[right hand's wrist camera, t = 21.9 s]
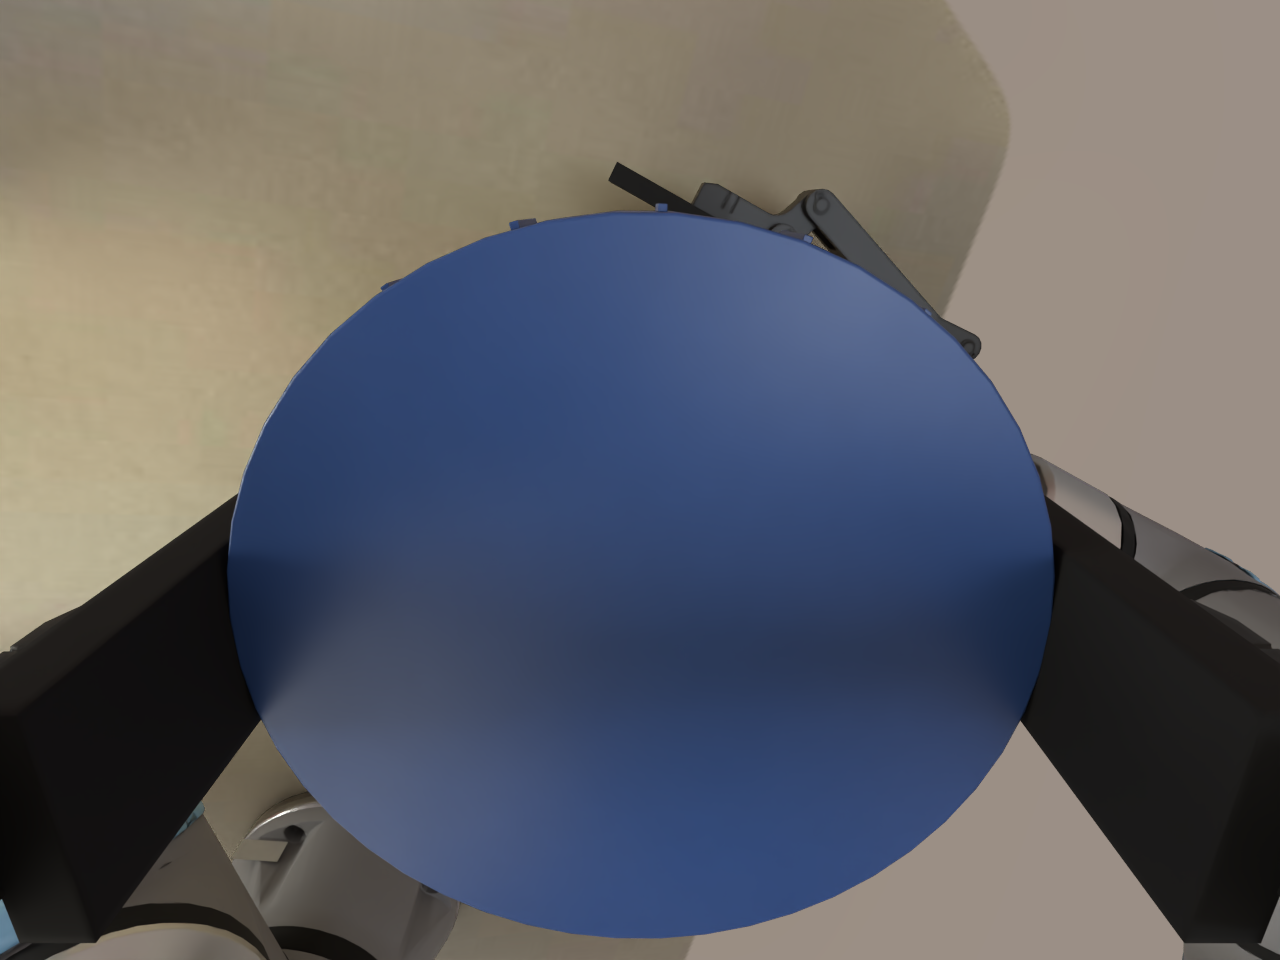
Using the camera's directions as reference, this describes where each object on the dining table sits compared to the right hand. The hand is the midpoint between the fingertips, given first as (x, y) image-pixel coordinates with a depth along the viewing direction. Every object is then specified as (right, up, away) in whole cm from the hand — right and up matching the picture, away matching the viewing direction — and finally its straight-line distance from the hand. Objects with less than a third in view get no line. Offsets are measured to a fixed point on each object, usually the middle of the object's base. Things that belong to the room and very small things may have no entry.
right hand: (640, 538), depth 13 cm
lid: (0, -1, -3) cm, 3 cm away
